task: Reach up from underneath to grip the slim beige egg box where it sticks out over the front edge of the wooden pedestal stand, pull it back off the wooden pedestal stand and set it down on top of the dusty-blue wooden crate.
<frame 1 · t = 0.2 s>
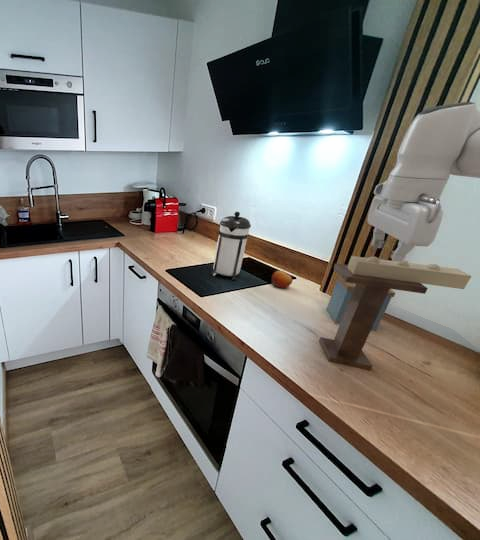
hand: (385, 253, 65), 34 cm above the worktop, tool pointing down, fingers open, 8 cm apart
wooden pedestal stand: (343, 354, 84), on the worktop
fruit: (279, 286, 125), on the worktop
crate: (349, 319, 102), on the worktop
egg box: (401, 277, 72), point 26 cm above the worktop, touching wooden pedestal stand
coffee press: (225, 273, 137), on the worktop
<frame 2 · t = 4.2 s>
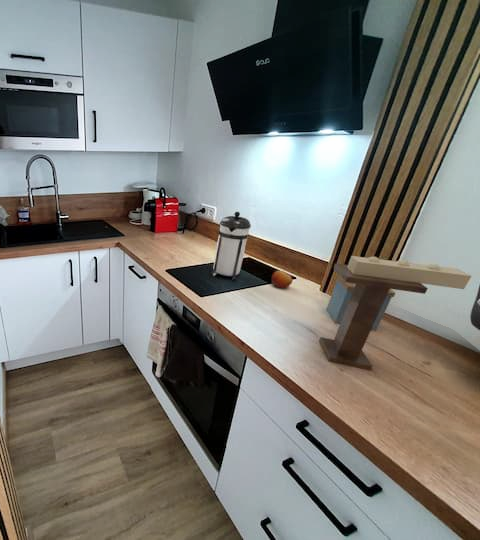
nothing on the worktop moved.
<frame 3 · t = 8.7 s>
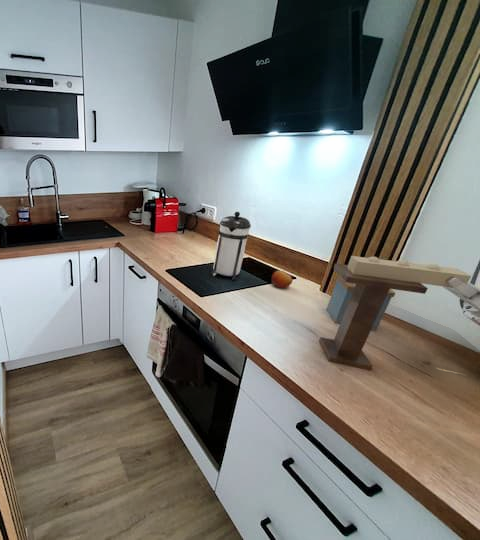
hand: (442, 274, 69), 28 cm above the worktop, tool pointing upward, fingers closed on egg box, 4 cm apart
egg box: (401, 277, 72), point 26 cm above the worktop, touching gripper, wooden pedestal stand
everything else where it was.
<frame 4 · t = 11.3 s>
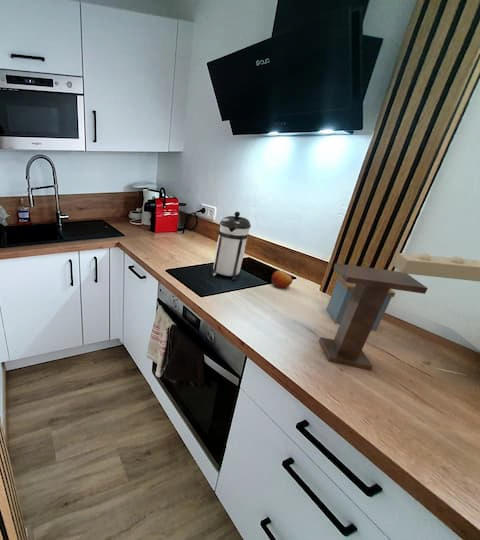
egg box: (454, 275, 68), point 29 cm above the worktop, touching gripper
everything else where it was.
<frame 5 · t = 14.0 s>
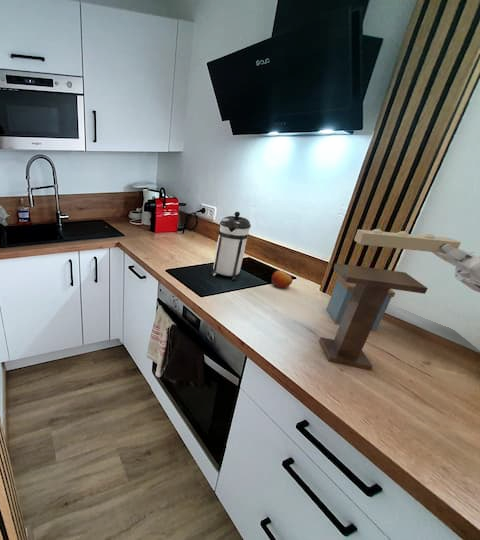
hand: (436, 242, 80), 32 cm above the worktop, tool pointing upward, fingers closed on egg box, 4 cm apart
egg box: (401, 246, 83), point 30 cm above the worktop, touching gripper
everything else where it was.
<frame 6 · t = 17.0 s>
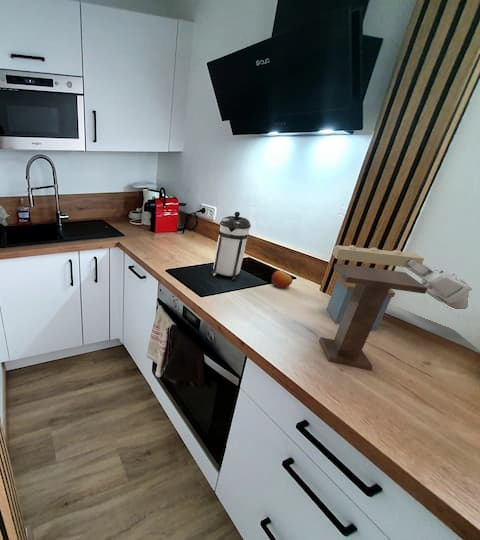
hand: (403, 258, 90), 25 cm above the worktop, tool pointing upward, fingers closed on egg box, 4 cm apart
egg box: (373, 261, 93), point 22 cm above the worktop, touching gripper
everything else where it was.
when the fingers open (17 cm above the worktop, at t = 19.5 s): egg box stays where it is, resting on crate.
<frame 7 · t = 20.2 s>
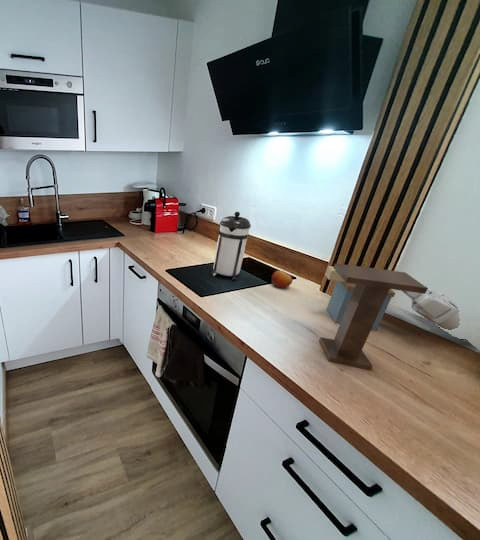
hand: (394, 278, 93), 17 cm above the worktop, tool pointing upward, fingers open, 8 cm apart
egg box: (364, 282, 96), point 14 cm above the worktop, touching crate
everything else where it was.
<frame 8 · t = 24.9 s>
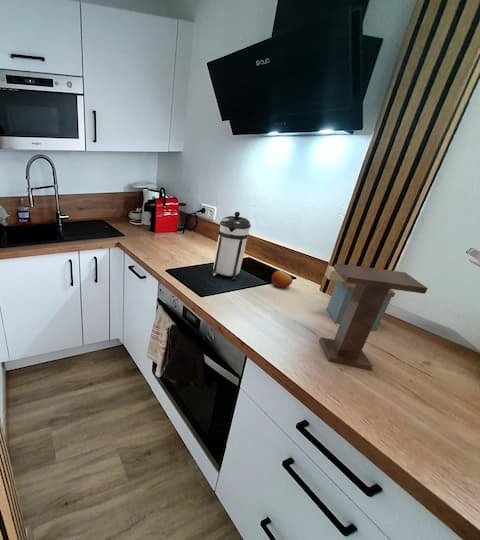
hand: (458, 245, 84), 30 cm above the worktop, tool pointing upward, fingers open, 8 cm apart
nothing on the worktop moved.
at the end: egg box inside the target area on the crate (0.1 cm from its centre), point 14.5 cm above the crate's base; egg box tilted 0°; the gripper is holding nothing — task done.
